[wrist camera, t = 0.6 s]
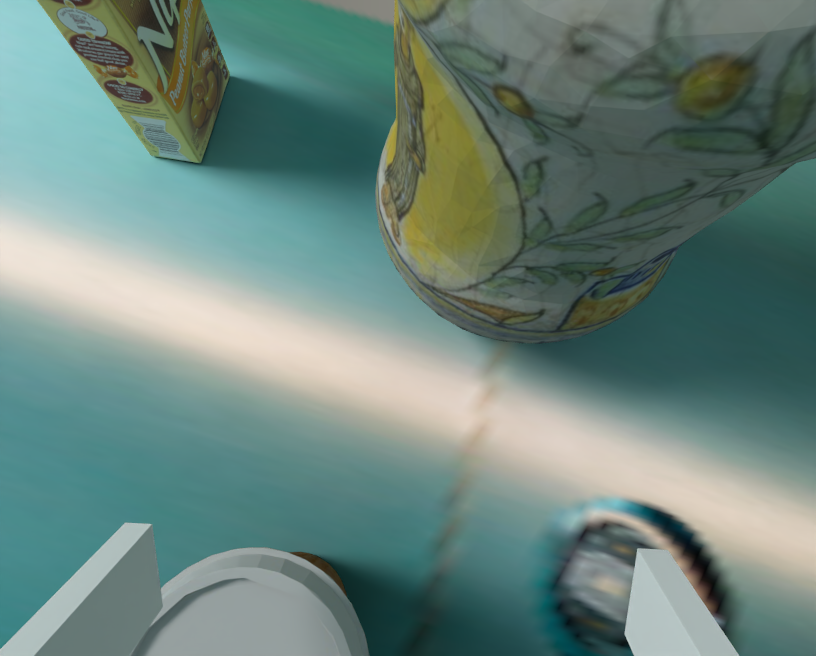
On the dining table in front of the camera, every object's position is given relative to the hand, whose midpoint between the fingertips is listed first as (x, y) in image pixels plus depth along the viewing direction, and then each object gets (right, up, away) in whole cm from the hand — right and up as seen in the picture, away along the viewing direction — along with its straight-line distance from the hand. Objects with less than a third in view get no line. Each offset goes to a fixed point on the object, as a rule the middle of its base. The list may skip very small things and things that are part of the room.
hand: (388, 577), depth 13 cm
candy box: (-16, +23, +25) cm, 38 cm away
